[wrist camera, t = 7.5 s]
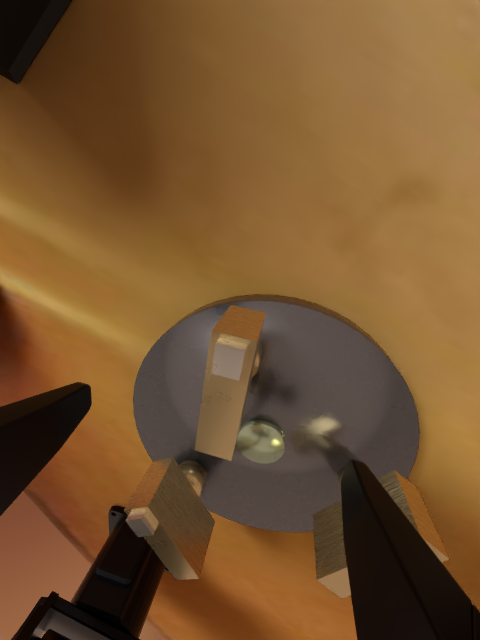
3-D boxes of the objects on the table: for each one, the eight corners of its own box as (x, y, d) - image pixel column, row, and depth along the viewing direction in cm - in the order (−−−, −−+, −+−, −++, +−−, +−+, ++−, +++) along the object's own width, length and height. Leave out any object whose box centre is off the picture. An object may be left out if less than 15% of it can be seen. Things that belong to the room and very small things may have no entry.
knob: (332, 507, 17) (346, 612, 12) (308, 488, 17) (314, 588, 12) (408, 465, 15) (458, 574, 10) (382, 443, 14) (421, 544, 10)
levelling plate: (353, 537, 20) (359, 574, 18) (142, 471, 22) (126, 496, 20) (464, 334, 13) (495, 355, 11) (149, 266, 15) (127, 273, 13)
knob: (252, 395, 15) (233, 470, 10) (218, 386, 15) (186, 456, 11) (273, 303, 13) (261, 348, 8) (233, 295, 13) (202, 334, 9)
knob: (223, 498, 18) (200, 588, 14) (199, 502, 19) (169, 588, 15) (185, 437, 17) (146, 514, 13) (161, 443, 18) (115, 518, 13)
